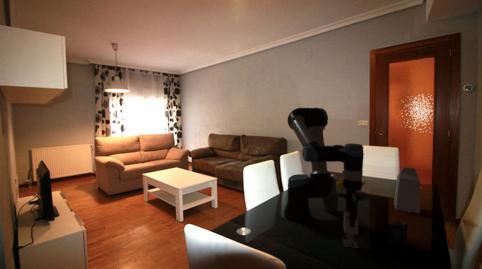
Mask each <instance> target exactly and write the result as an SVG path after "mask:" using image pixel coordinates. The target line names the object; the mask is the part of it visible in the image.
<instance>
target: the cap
mask: <svg viewBox="0 0 482 269" xmlns="http://www.w3.org/2000/svg"><path fill="white" fill-rule="evenodd" d="M347 218H349V212H346V211H343V225H342V226H343V232H344V233H345V234H347V233H348V220H349V219H347ZM354 235H358V236H359V216H358V214H357V220H356V224H355V234H354Z"/></svg>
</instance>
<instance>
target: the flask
mask: <svg viewBox="0 0 482 269" xmlns="http://www.w3.org/2000/svg"><path fill="white" fill-rule="evenodd" d="M408 225H409V224H408V223H407V222H406V221H401V220H400V219H396V221H394V222H392V221H390V222H387V234H386V235H387V237H386V242H387V243H388V244H390V245H391V244H392V245H399V244H401V245H402V244H406V243H407V242H408Z"/></svg>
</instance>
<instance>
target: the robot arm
mask: <svg viewBox="0 0 482 269" xmlns="http://www.w3.org/2000/svg"><path fill="white" fill-rule="evenodd" d="M328 123H329V115H328V113H327V111H326V110H325V109H324V108H323V107H321V108H320V107H298V108H295V109H293V110H291V112H290V113H289V114H288V115H287V124H288V127H289V128H290V129H291V130H293V132H294V134H295V135H296V137H297V139H298V141H299V142H300V145H301V146H302V150H301V155H302V159H303V161H304V162H307V163H309V162H310V164H311V165H310V166H311V172H310V173H309V175H308V174H304V173H303V174H302V173H300V174H299V173H297V174H292V175H291V176H289V178H288V179H287V180H288V181H287V202H286V205H285V208H284V210H283V216H284V217H285V218H286V219H288V220H290V221H295V222H308V221H309V220H311V219H312V212H311V208H310V205H309V199H322V198H328V197H332V196H333V195H334V194H335V192H336V181H335V180H336V178H335V177H334V176H332V174H331V172H330V171H328V163H330V162H333V163H335V162H338V163H339V162H340V163H343V170H342V171H341V172H342V174H343V176H342V177H344V179H343V187H344V188H346V190H347V192H346V193H347V195H346V199H345V200H346V201H345V202H346V204H345V209H346V211H345V212H349V218H347V219H349V220H348V233H349V234H354V235H356V234H355V224H356V220H357V215H358V203H359V198H358V197H359V196H358V195H359V193H356V190H360V189H362V190H363V186H362V183H363V172H364V170H363V166H364V153H365V152H364V145H362V144H361V143H345V144H344V145H342V144H334V145H325V139H324V138H325V137H324V131H325V130H326V126H328ZM327 162H328V163H327Z"/></svg>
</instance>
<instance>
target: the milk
mask: <svg viewBox="0 0 482 269" xmlns="http://www.w3.org/2000/svg"><path fill="white" fill-rule="evenodd" d="M393 199H394V200H393V205H395V206H394V208H396V209H395V211H398V210H401V211H400V212H405V211H407V212H406V213H411V212H415V213H414V214H417V213H420V214H421V181H420V178H419V175H418V172H417V170H416V168H415V167H409V166H408V167H407V166H402V168H401V170H400V171H399V173H397V176H396V182H395V193H394V198H393Z"/></svg>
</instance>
